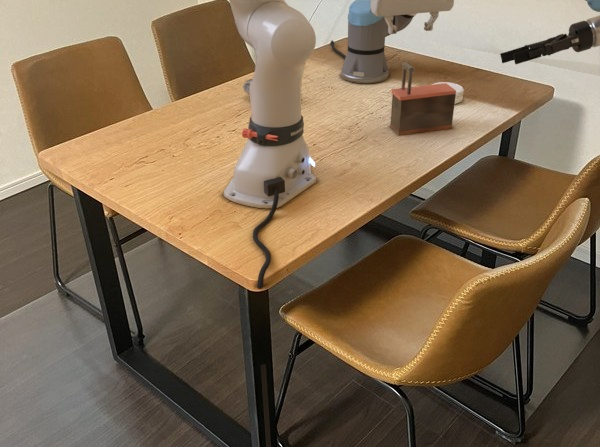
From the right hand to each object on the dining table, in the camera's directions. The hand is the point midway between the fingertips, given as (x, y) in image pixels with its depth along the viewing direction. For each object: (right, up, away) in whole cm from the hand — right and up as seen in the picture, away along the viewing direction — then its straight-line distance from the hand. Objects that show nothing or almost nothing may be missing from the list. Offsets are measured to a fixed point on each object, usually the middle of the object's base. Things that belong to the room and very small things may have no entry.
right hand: (507, 58), depth 166 cm
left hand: (-29, +3, -15) cm, 32 cm away
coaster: (-13, -7, +17) cm, 22 cm away
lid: (-24, -10, -5) cm, 26 cm away
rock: (-65, -8, +18) cm, 68 cm away
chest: (-23, -18, 0) cm, 30 cm away
